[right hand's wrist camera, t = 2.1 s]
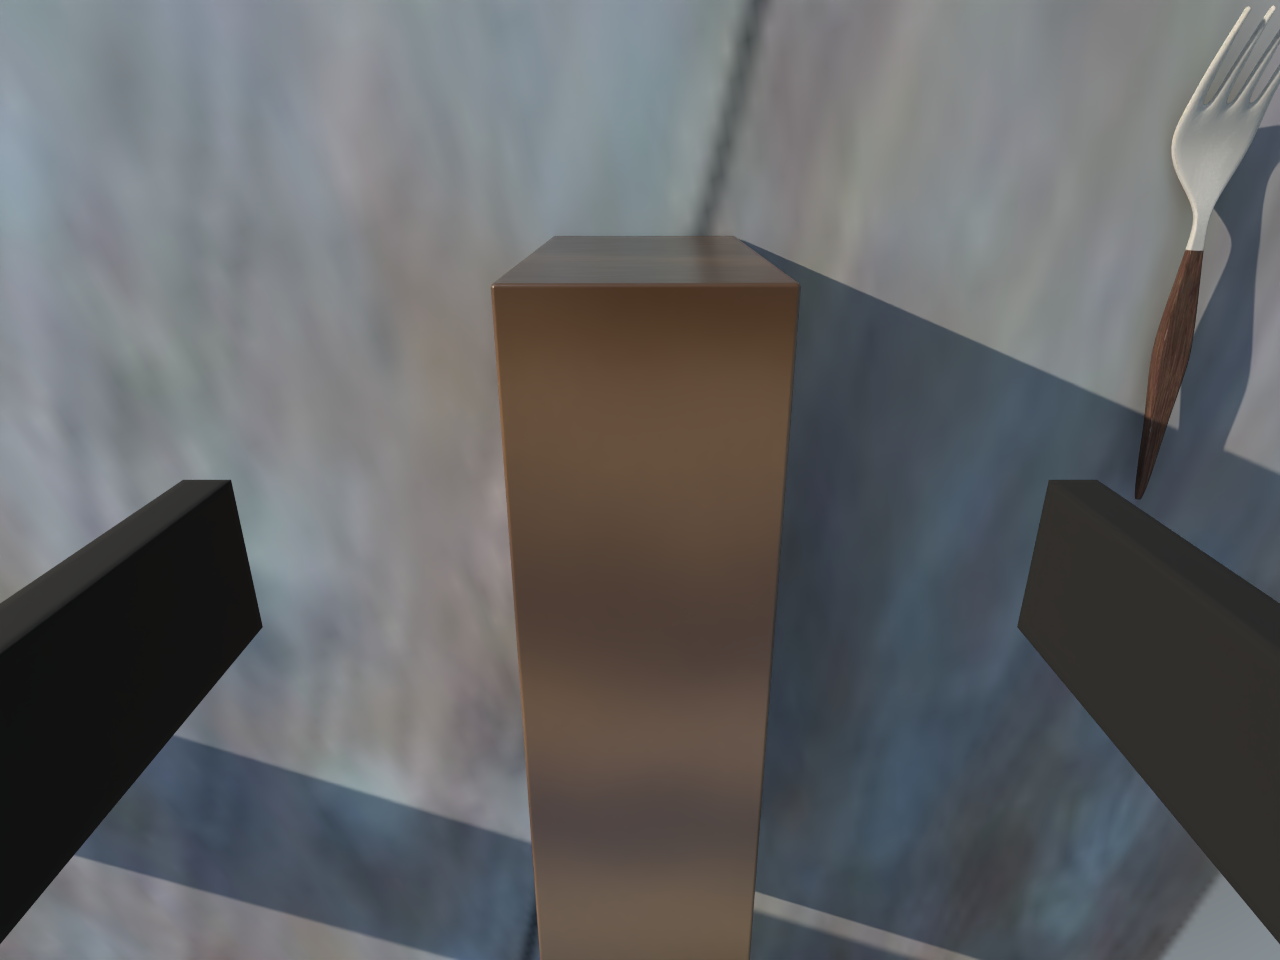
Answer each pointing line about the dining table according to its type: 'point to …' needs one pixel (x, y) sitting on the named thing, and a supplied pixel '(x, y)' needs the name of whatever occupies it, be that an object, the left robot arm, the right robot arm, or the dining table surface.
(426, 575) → the dining table surface
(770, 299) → the box
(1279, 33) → the fork
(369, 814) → the dining table surface
